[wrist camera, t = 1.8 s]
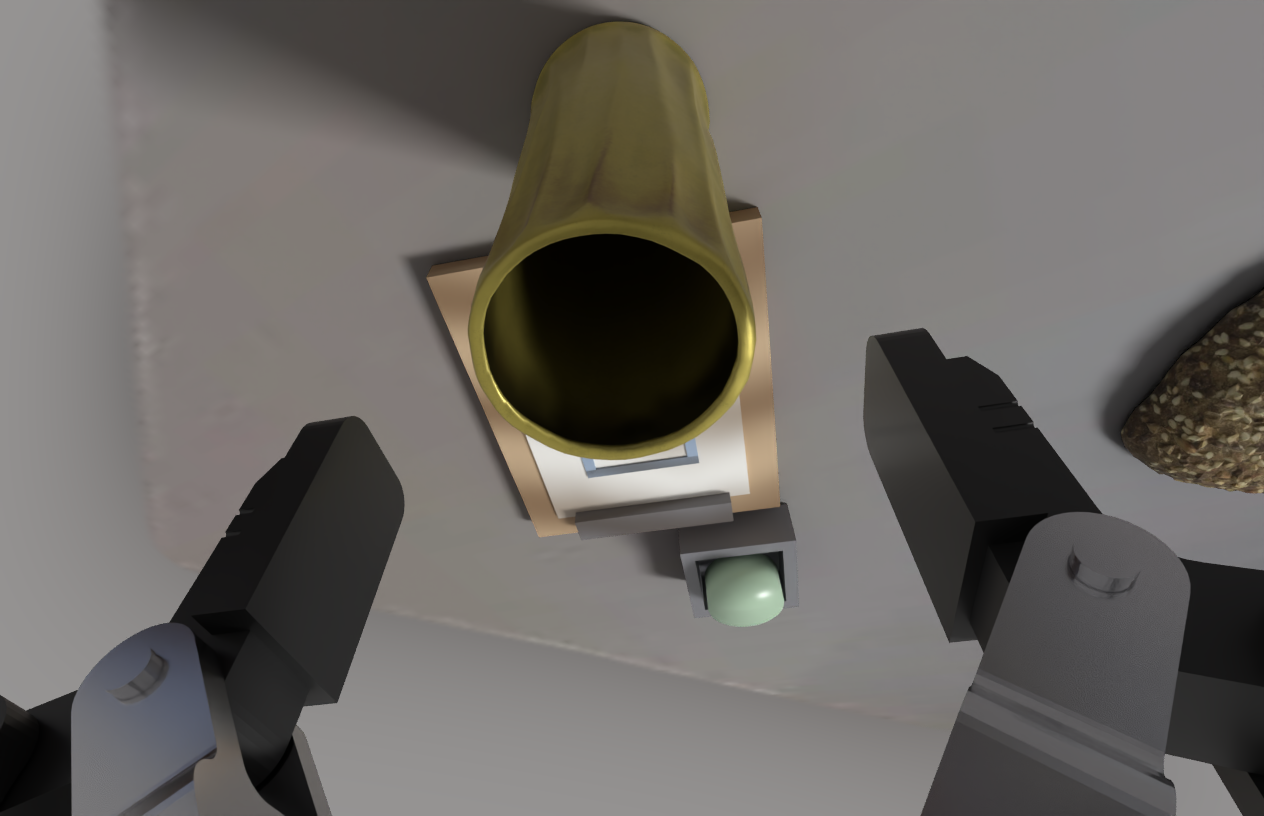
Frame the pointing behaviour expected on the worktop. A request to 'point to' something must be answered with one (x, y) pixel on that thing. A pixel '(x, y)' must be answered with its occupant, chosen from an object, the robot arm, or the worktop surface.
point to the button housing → (740, 550)
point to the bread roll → (1209, 409)
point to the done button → (743, 590)
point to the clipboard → (652, 485)
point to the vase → (615, 259)
